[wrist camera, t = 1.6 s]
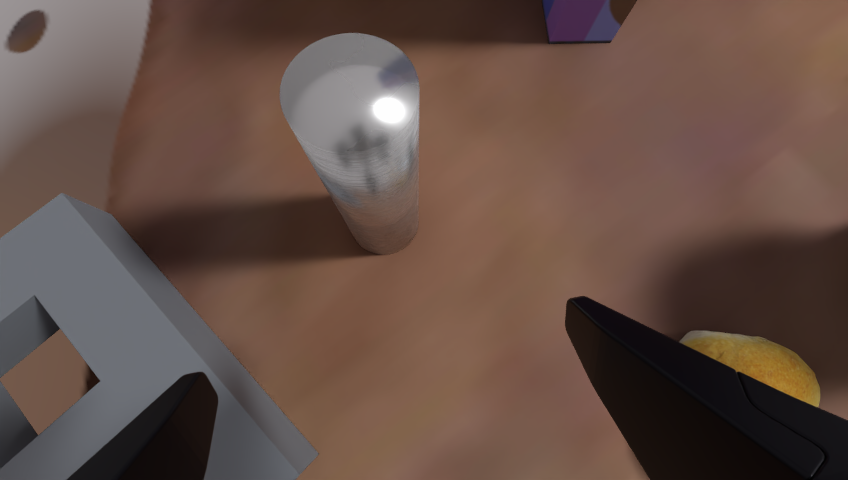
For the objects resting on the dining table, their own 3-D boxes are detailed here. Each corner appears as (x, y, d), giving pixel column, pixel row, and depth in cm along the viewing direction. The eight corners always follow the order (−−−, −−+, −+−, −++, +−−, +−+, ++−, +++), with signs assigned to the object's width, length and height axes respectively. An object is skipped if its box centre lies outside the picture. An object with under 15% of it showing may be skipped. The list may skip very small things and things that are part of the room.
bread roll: (661, 493, 21) (717, 527, 17) (648, 327, 23) (694, 323, 19) (812, 507, 20) (903, 544, 17) (782, 338, 23) (856, 337, 19)
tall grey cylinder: (415, 257, 24) (414, 156, 11) (346, 252, 24) (267, 145, 11) (420, 192, 25) (424, 37, 12) (354, 188, 25) (292, 28, 12)
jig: (318, 454, 21) (299, 474, 17) (94, 695, 18) (18, 777, 14) (111, 214, 24) (61, 192, 21) (-104, 381, 21) (-202, 387, 18)
